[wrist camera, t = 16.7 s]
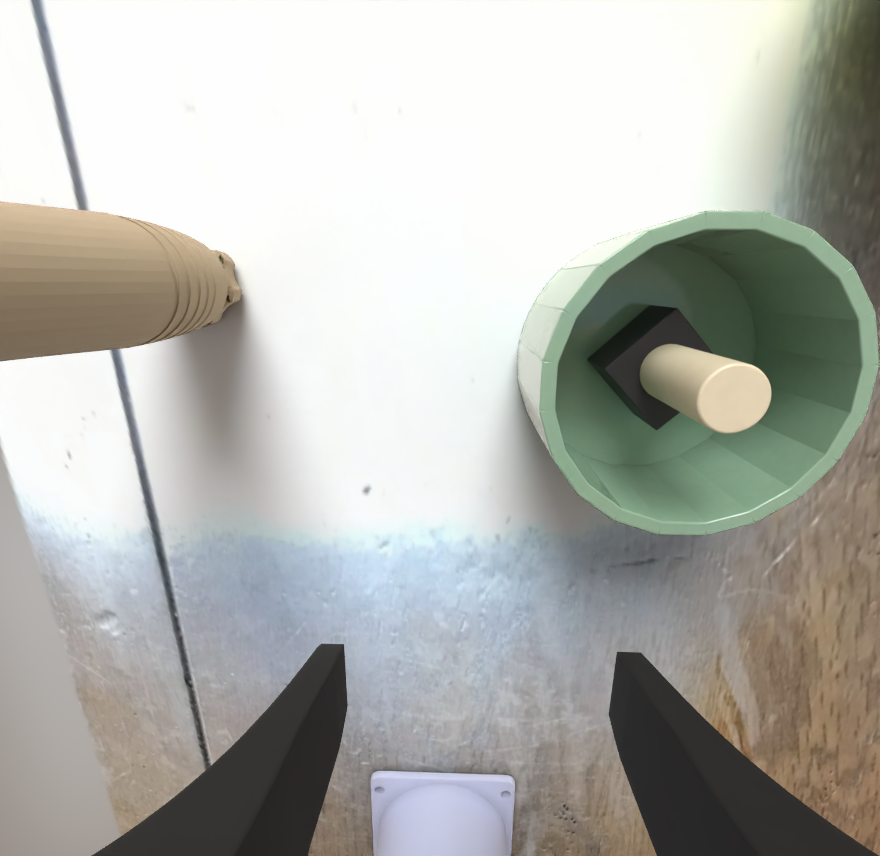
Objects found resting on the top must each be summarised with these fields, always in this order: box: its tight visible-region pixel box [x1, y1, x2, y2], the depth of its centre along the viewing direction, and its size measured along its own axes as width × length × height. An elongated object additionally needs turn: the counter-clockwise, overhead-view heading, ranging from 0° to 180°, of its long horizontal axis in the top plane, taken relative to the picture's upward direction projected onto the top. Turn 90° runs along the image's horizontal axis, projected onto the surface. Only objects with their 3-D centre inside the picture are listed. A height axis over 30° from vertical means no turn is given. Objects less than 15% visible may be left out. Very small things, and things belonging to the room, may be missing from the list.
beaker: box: [517, 211, 879, 536], centre depth 18 cm, size 10×10×6 cm
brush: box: [587, 305, 771, 434], centre depth 17 cm, size 3×3×7 cm
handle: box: [0, 201, 242, 361], centre depth 13 cm, size 5×6×15 cm
